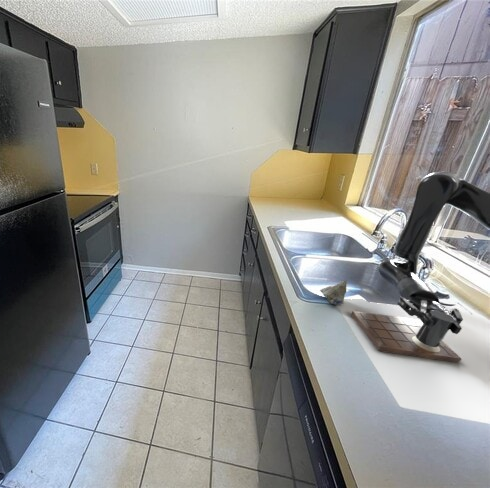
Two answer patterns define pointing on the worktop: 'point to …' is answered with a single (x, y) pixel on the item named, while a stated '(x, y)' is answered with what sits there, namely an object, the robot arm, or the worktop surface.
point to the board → (400, 336)
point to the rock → (335, 293)
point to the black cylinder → (435, 329)
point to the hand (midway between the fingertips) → (444, 327)
